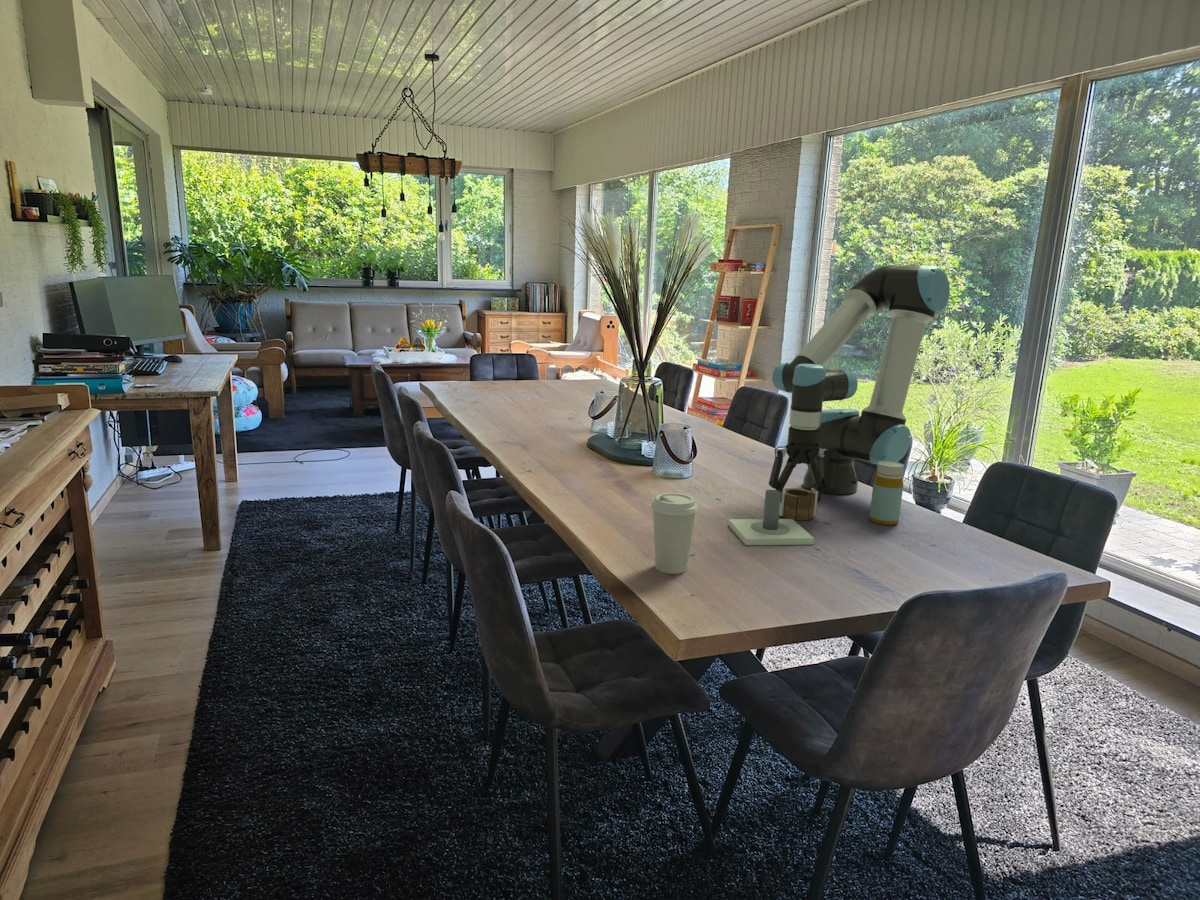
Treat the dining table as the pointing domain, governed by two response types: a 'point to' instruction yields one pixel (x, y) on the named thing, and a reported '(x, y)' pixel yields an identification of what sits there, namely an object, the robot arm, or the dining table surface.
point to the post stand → (770, 526)
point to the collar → (798, 504)
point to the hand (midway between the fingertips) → (796, 514)
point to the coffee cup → (673, 531)
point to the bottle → (887, 493)
